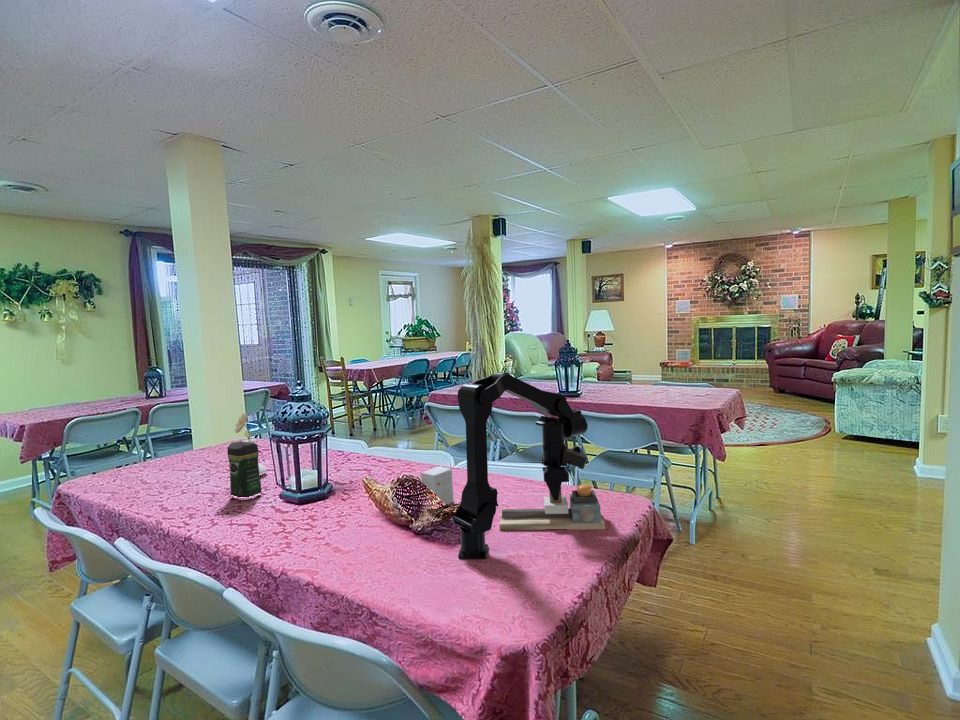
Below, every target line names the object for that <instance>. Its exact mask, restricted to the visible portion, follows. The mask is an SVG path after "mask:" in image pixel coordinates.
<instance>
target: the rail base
mask: <svg viewBox="0 0 960 720" xmlns="http://www.w3.org/2000/svg"><path fill="white" fill-rule="evenodd" d="M603 517H604V516H603V515H602V512H601V504H600V501H599V500H598V497H597V494H596V492H595V490H594V489H591V496H590V497H579V496H577V490H571V493H569V508H568V514H545V508H517V509H516V508H515V509H514V508H513V509H512V508H507V509H505V508H504V509H501V510H500V518H499V531H533V530H534V531H535V530H538V531H541V530H542V531H543V530H545V529H567V530H606V523H605V520H604V518H603Z"/></svg>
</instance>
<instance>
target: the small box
mask: <svg viewBox="0 0 960 720" xmlns="http://www.w3.org/2000/svg"><path fill="white" fill-rule="evenodd" d="M420 476H421V477H420V479H421V483H422V482H423V483H424V484H425V485H426V486H427V487H428V488H430V489H431V490H432V491H433V492H434V493H435V494H436V495H437V496H438V497H439V498H440V499H441V500H442V501H443V502H444V503H445V504H448V505H451V504H452V503H454V487H453V486H454V485H453V469H452V468H449V467H444V466H440V465H439V466H436V467H433V468H431V469H428V470H425V471H422V472H421V473H420Z"/></svg>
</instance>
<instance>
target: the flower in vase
mask: <svg viewBox="0 0 960 720" xmlns="http://www.w3.org/2000/svg"><path fill="white" fill-rule="evenodd" d="M247 420H248V414H247V413H246V412H245V413H242V414H241V416H240V417H238V421H237V423H236V424H235V429H234V432H235V433H236V434H238V433H240V432H241V431H242V430H243V429H244V427H245V428H246V429H247V430H245V431H244V432H243V435H244V436H245V437H246V438H247V439H246V440H245V439H244V440H241V441H242V442H249V443H255V444H256V441H257V439H251V437H252V435H251V432H250V430H249V428H248V426H247V424H246V423H247ZM258 465H259V474H260V473H263V472H265V471H266V470H267V471H268V468H267V467H266V466H265V465H263V464H262V463H260V462H258Z"/></svg>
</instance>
